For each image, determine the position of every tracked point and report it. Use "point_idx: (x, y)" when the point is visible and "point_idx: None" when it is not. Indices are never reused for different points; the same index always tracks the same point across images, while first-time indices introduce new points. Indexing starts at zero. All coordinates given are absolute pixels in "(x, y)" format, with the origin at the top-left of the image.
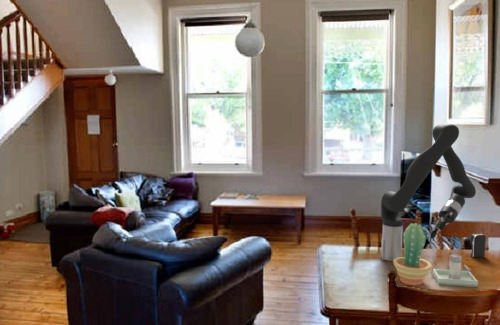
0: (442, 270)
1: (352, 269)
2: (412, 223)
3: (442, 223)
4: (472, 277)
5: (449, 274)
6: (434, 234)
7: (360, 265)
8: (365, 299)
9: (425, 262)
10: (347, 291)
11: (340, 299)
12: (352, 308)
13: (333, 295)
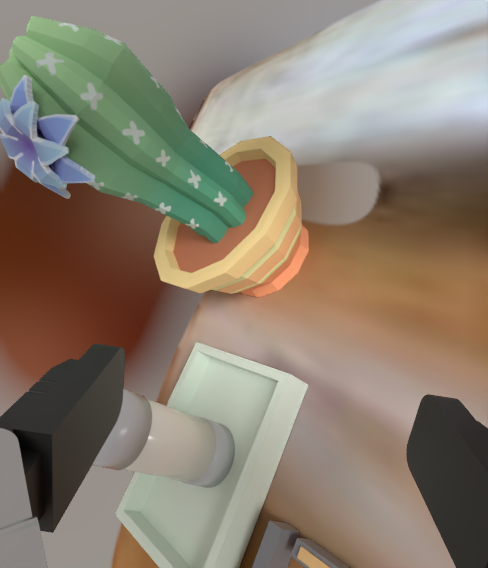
0: (262, 423)
1: (424, 48)
2: (30, 24)
3: (10, 415)
4: (152, 539)
5: (202, 418)
6: (444, 502)
7: (483, 57)
8: (213, 137)
9: (202, 269)
10: (258, 94)
11: (230, 94)
12: (195, 123)
13: (249, 76)
